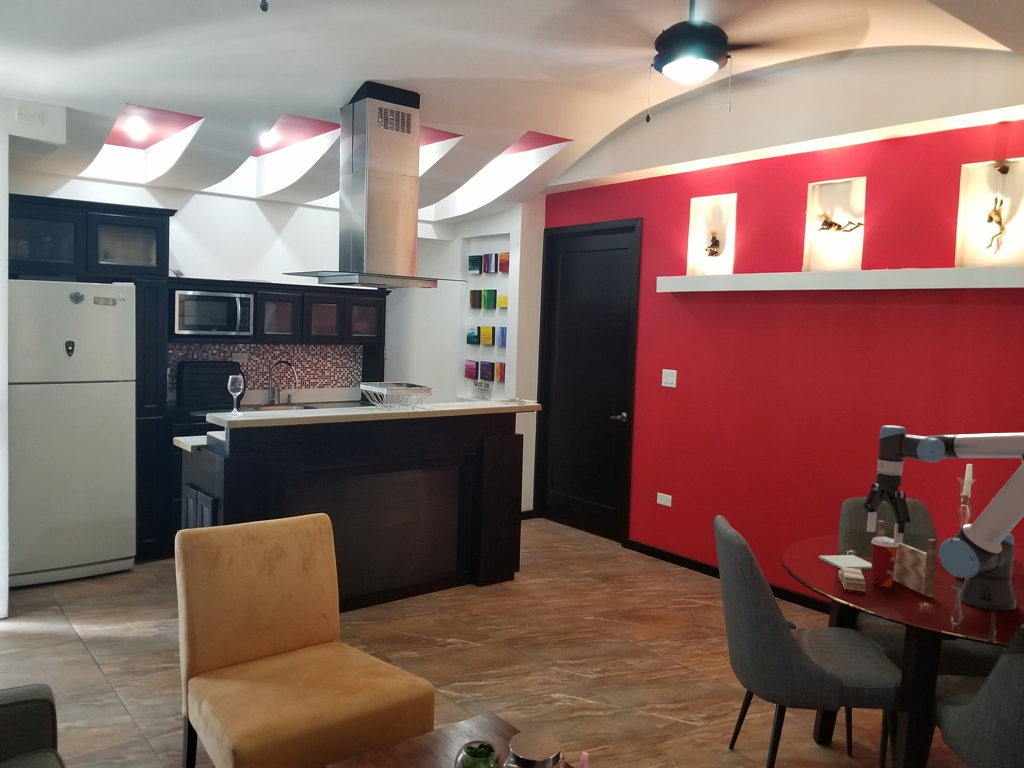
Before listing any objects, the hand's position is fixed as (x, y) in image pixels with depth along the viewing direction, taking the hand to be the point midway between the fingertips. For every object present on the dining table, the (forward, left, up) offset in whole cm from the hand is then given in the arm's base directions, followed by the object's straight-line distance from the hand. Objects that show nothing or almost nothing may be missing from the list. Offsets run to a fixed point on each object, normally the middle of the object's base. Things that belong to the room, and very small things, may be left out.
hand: (884, 537), depth 260 cm
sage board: (+23, -3, -16) cm, 28 cm away
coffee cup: (0, 0, -16) cm, 16 cm away
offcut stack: (0, +11, -16) cm, 19 cm away
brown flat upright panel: (0, -8, -16) cm, 17 cm away
